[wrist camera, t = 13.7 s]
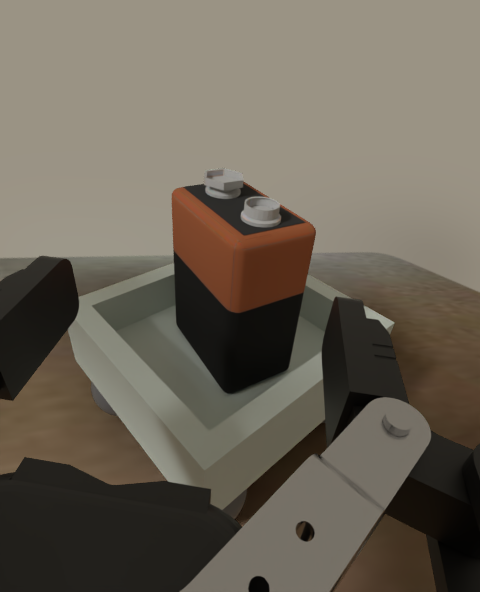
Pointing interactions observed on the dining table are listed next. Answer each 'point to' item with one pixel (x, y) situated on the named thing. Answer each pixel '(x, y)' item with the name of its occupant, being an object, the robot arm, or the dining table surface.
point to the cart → (198, 386)
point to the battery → (238, 277)
